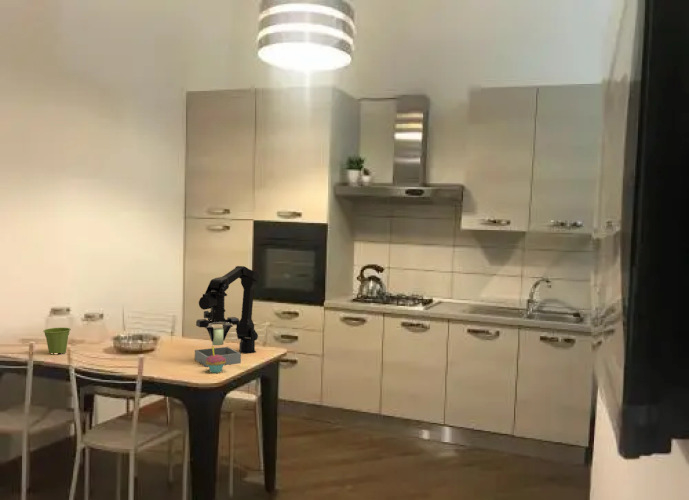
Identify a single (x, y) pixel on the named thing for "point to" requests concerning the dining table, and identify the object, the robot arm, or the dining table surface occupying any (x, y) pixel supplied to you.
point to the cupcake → (215, 362)
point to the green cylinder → (218, 336)
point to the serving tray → (226, 352)
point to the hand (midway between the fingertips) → (217, 340)
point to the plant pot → (57, 339)
